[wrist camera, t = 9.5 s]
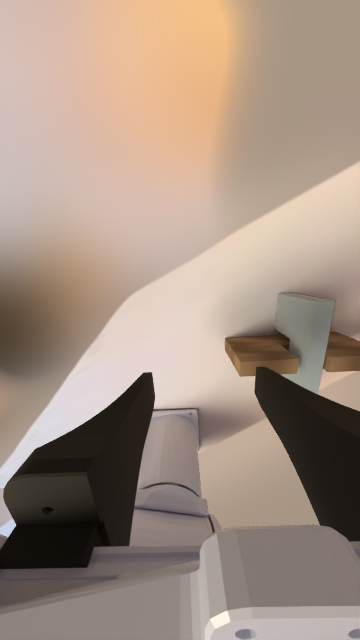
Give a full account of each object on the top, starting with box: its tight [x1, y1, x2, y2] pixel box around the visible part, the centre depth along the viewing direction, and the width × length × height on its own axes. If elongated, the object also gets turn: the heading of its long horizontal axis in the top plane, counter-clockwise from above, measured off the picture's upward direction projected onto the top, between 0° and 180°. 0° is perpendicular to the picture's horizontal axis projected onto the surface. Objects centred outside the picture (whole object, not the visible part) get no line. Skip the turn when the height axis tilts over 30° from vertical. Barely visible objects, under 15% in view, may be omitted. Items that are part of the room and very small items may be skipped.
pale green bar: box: [275, 293, 335, 394], centre depth 19 cm, size 2×12×6 cm, turn 4°
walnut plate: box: [225, 332, 360, 376], centre depth 19 cm, size 14×2×6 cm, turn 94°
